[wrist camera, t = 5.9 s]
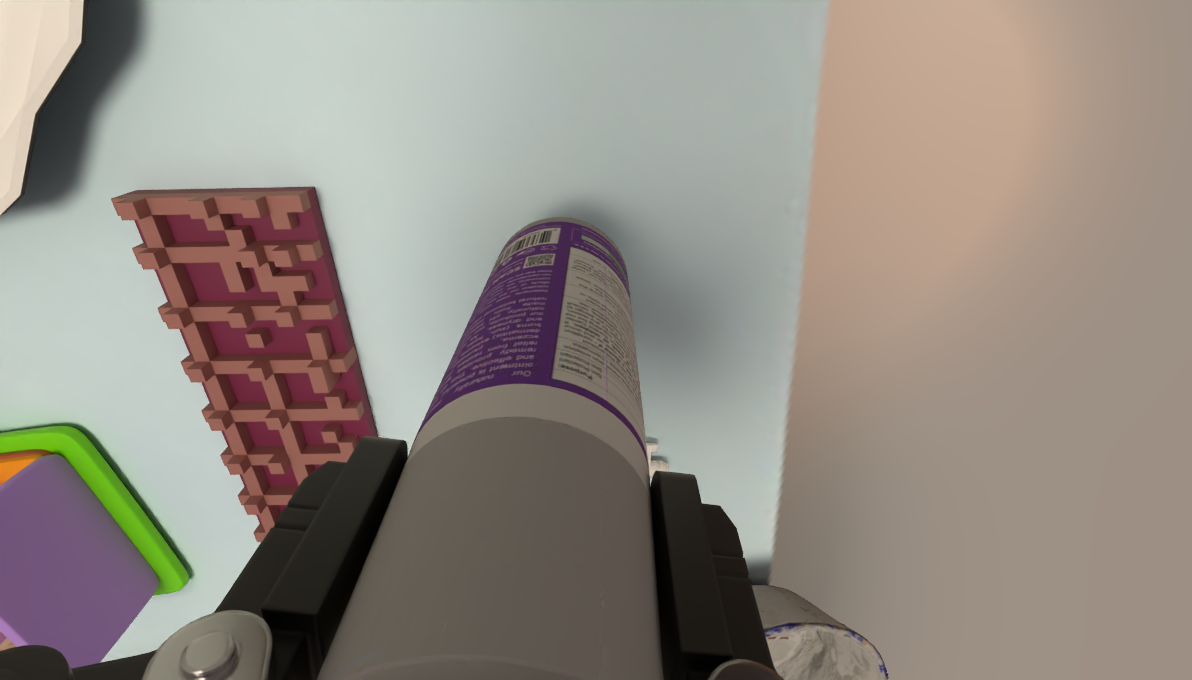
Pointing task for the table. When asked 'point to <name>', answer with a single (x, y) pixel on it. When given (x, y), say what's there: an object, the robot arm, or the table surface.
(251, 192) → the red maze panel
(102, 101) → the table surface
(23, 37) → the plate
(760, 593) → the bowl
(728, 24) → the table surface
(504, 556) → the container
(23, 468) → the miniature room corner
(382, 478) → the robot arm
